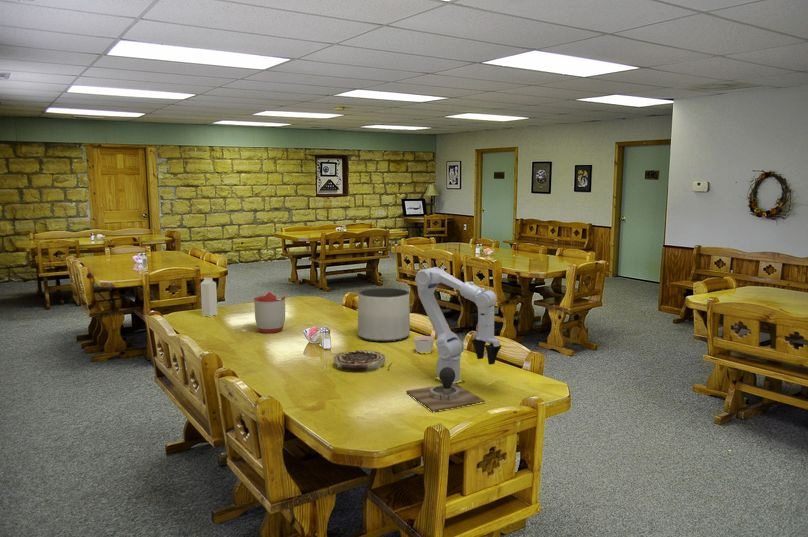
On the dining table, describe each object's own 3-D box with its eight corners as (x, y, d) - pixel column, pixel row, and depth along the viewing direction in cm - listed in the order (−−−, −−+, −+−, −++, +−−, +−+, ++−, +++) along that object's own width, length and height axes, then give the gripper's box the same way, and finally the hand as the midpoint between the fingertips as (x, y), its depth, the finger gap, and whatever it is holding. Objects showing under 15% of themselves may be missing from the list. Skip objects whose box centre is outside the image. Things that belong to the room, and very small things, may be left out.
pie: (383, 379, 228) (383, 366, 227) (315, 375, 233) (315, 363, 233) (398, 358, 255) (398, 347, 255) (337, 355, 261) (337, 344, 260)
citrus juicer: (295, 329, 305) (294, 290, 302) (270, 336, 290) (269, 296, 288) (272, 325, 313) (271, 287, 311) (248, 331, 299) (246, 292, 296)
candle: (434, 349, 267) (434, 336, 266) (433, 355, 258) (433, 341, 258) (414, 349, 268) (414, 335, 267) (413, 354, 259) (413, 340, 258)
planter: (350, 333, 297) (350, 289, 294) (396, 328, 307) (396, 286, 304) (369, 345, 274) (369, 298, 271) (418, 339, 285) (418, 294, 282)
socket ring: (425, 393, 209) (425, 387, 208) (449, 388, 213) (449, 383, 213) (438, 402, 200) (438, 396, 200) (464, 397, 204) (464, 392, 204)
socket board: (406, 393, 211) (406, 390, 211) (454, 385, 220) (454, 382, 220) (432, 412, 193) (432, 409, 193) (484, 403, 202) (484, 400, 202)
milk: (209, 314, 338) (207, 276, 336) (217, 315, 336) (216, 277, 333) (201, 316, 333) (200, 277, 330) (210, 317, 330) (208, 278, 328)
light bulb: (455, 392, 209) (455, 365, 208) (455, 398, 204) (455, 370, 202) (439, 392, 210) (439, 364, 208) (438, 397, 204) (439, 369, 203)
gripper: (466, 321, 218) (466, 357, 219) (487, 329, 205) (487, 368, 206) (482, 319, 221) (482, 355, 222) (504, 327, 207) (504, 365, 209)
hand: (485, 361), depth 214 cm, fingers open, 7 cm apart
